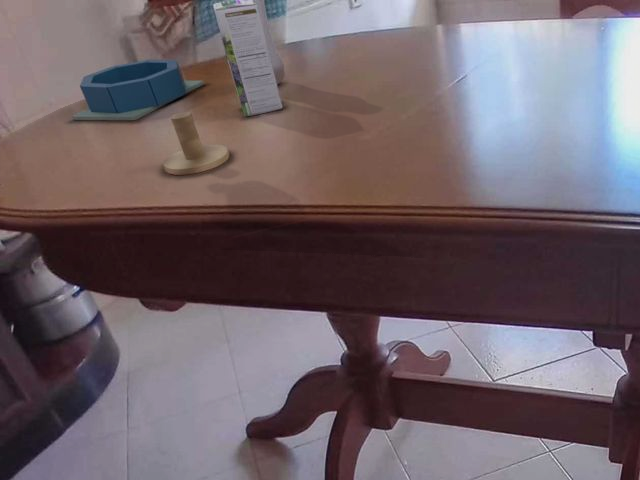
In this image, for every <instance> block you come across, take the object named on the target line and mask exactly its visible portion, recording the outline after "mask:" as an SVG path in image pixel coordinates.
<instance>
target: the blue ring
mask: <svg viewBox="0 0 640 480" xmlns="http://www.w3.org/2000/svg"><path fill="white" fill-rule="evenodd" d="M184 81H185V79H184V76H183V74H182V70H181V68H180V65H179V62H178V60H177V59H155V58H154V59H153V58H152V59H145V60H139V61H134V62H127V63H122V64H117V65H112V66H110V67H107V68H104V69H102V70H101V69H100V70H98V71H96V72H93V73H89V74H87V75H85V76H83V77H82V80H81V82H80V83H79V87H80V90H81V92H82V95H83V97H84V99H85V101H86V104H87V106H88V109H89V108H90V111H91V112H104V113H123V112H128V111H133V110H139V109H144V108H149V107H154V106H157V105H161V104H163V103H165V102H168V101H170V100H172V99H174V98H177V97H179V96H181V95H183V96H184V94H185V93H186V87H185V82H184ZM186 94H187V93H186ZM186 94H185V95H186ZM181 97H182V96H181ZM179 98H180V97H179ZM177 99H178V98H177Z"/></svg>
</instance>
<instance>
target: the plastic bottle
mask: <svg viewBox="0 0 640 480" xmlns="http://www.w3.org/2000/svg"><path fill="white" fill-rule="evenodd" d="M223 1H227V0H222V2H223ZM254 2H255V3H256V5H257V9H258V12H259V16H260V20H261V24H262V27H263V31H264V35H265V39H266V43H267V47H268V51H269V55H270V59H271V63H272V67H273V71H274V75H275V79H276V83H277V85H278V84H281V83H282V82H284V79H285V66H284V63H283V60H282V58H281V56H280V54H279V52H278V50H277V47H276V44H275V41H274V38H273V35H272V32H271V29H270V24H269V23H268V16H267V10H266V6H265V5H266V4H265V0H254Z"/></svg>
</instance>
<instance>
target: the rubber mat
mask: <svg viewBox="0 0 640 480" xmlns="http://www.w3.org/2000/svg"><path fill="white" fill-rule="evenodd" d="M184 82H185V87H186V93H185V94H184V95H187V94H188V93H191V92H192V91H194V90H196V89H198V88H200V87H202V86H204V85H205V81H204V80H184ZM184 95H181V96H179V97H177V98H174V99H172V100H170V101H168V102H165V103H163V104H161V105H157V106H154V107H149V108H144V109H139V110H133V111H128V112H123V113H104V112H91V111H90V108H89V107H88V108H87V109H85V110H83V111H80V112H78V113H75V114H74V115H71V118H72V120H73V121H137V120H138V119H141V118H142V117H144V116H146V115H148V114H150V113H152V112H154V111H156V110H158V109H159V108H162V107H164V106H165V105H168V104H169V103H171V102H173V101H176V99H177V100H178V99H179V98H181V97H183V96H184Z"/></svg>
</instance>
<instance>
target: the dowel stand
mask: <svg viewBox="0 0 640 480" xmlns="http://www.w3.org/2000/svg"><path fill="white" fill-rule="evenodd" d="M170 121H171V122H172V125H173V128H174V131H175V134H176V137H177V139H178V142H179V145H180V148H181V150H178V151H175V152H174V153H172V154H170V155H168V156H167V157H166V158H165V159H164V160H163V161H162V166H163V169H164V171H165V172H166V173H167V174H170V175H177V176H184V175H194V174H198V173H203V172H206V171H209V170H213V169H215V168H217V167H219V166H221V165H223V164H225V163H226V162H227V161H228V159H229V158H230V153H229V149H228V147H226V146H225V145H220V144H203V143H202V141H201V138H200V134H199V132H198V130H197V126H196V123H195V121H194V118H193V115H192V113H191V112H190V111H181V112H177V113H174V114H172V115H171V116H170Z"/></svg>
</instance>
